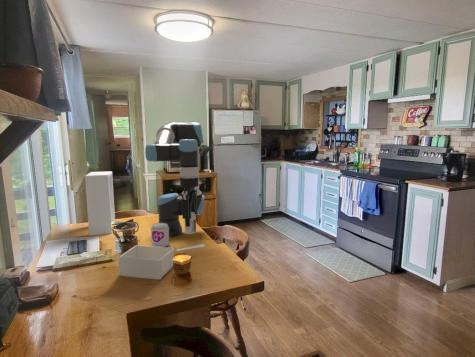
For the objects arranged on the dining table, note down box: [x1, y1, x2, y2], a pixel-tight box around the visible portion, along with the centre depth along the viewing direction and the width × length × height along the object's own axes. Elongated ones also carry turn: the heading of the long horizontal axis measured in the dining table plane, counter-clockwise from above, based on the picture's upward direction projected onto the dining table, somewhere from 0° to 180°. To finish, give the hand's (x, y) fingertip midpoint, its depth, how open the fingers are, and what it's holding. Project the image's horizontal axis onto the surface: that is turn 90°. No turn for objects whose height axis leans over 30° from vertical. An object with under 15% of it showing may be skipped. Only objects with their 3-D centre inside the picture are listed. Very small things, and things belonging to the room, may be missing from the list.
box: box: [84, 170, 116, 236], centre depth 185 cm, size 22×12×35 cm, turn 17°
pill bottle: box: [191, 212, 197, 235], centre depth 127 cm, size 5×5×8 cm
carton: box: [117, 244, 175, 281], centre depth 128 cm, size 14×19×8 cm
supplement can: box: [150, 222, 171, 248], centre depth 144 cm, size 8×8×15 cm
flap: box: [109, 255, 158, 260], centre depth 117 cm, size 7×16×1 cm, turn 79°
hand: (190, 231), depth 128 cm, fingers closed on pill bottle, 5 cm apart
